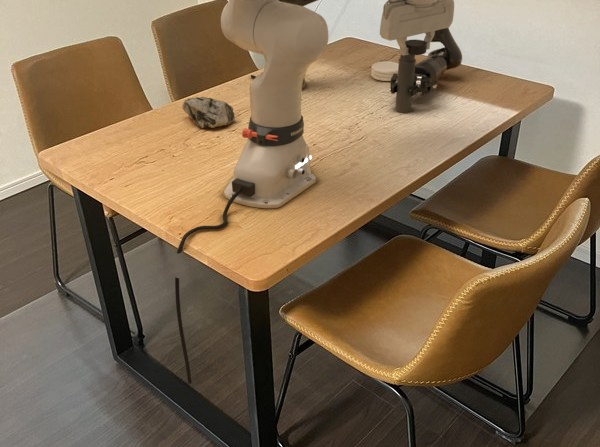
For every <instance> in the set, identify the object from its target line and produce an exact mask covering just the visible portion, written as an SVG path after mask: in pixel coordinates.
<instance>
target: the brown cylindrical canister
mask: <svg viewBox="0 0 600 447" xmlns="http://www.w3.org/2000/svg"><path fill="white" fill-rule="evenodd" d="M398 64H399V65H398V79H397V92H396V93H395V95H396V96H395V106H394V108H395V111H396V112H397V113H401V114H408V113H411V111H412V108H413V98H414V96H412V97H408V94H409V89H410V88H412V87H413V86H414V75H415V65H416V64H417V63H416V55H409V54H407V55H401V54H400V53H399V58H398Z"/></svg>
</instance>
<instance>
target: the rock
mask: <svg viewBox="0 0 600 447" xmlns="http://www.w3.org/2000/svg"><path fill="white" fill-rule="evenodd" d="M181 109H182V110H183V111H184V113H186V114H187V115H188V117H190V118H191V120H192V122H193V123H194V124H195V125H196V126H198V128H202V129H208V128H211V129H213V128H216V127H222V126H229V125H230V124H231V123H233V122H234V121H235V118H236V116H235V112H234V107H233V106H231V105H230V104H229V103H228V102H226V101H223V100H219V99H215V98H211V97H205V96H200V97H191V98H186V99H185V100H184V101H183V103H182V105H181Z"/></svg>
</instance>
